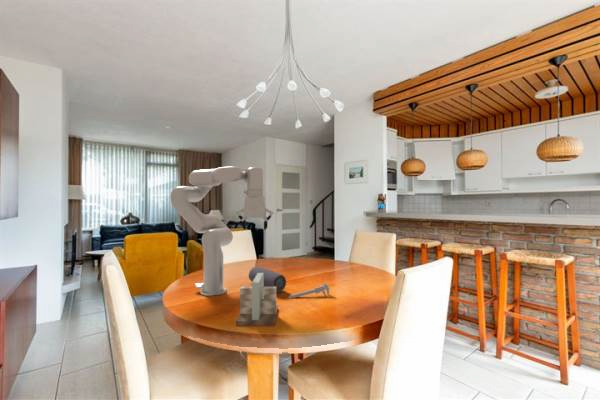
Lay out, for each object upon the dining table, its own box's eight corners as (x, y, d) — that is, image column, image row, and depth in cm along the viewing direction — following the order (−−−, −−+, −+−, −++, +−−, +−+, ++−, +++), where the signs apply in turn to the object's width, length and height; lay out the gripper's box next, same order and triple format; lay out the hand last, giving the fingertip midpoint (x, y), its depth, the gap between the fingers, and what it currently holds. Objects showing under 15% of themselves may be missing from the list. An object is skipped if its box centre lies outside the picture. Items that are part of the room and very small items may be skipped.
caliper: (328, 295, 138) (328, 282, 138) (329, 295, 137) (329, 283, 137) (287, 298, 133) (287, 285, 133) (287, 299, 132) (287, 285, 132)
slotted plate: (258, 320, 104) (258, 282, 104) (251, 320, 104) (252, 282, 104) (263, 306, 118) (263, 272, 118) (257, 306, 118) (257, 272, 118)
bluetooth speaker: (247, 285, 152) (247, 267, 152) (261, 282, 159) (261, 264, 159) (272, 296, 135) (272, 275, 135) (287, 292, 142) (287, 272, 142)
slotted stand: (236, 325, 103) (236, 294, 103) (244, 308, 119) (244, 281, 119) (274, 325, 103) (274, 294, 103) (277, 308, 119) (277, 281, 119)
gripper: (235, 193, 130) (234, 230, 129) (272, 193, 130) (272, 230, 129) (238, 193, 137) (238, 228, 137) (274, 193, 137) (273, 228, 137)
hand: (254, 229), depth 133 cm, fingers open, 9 cm apart
